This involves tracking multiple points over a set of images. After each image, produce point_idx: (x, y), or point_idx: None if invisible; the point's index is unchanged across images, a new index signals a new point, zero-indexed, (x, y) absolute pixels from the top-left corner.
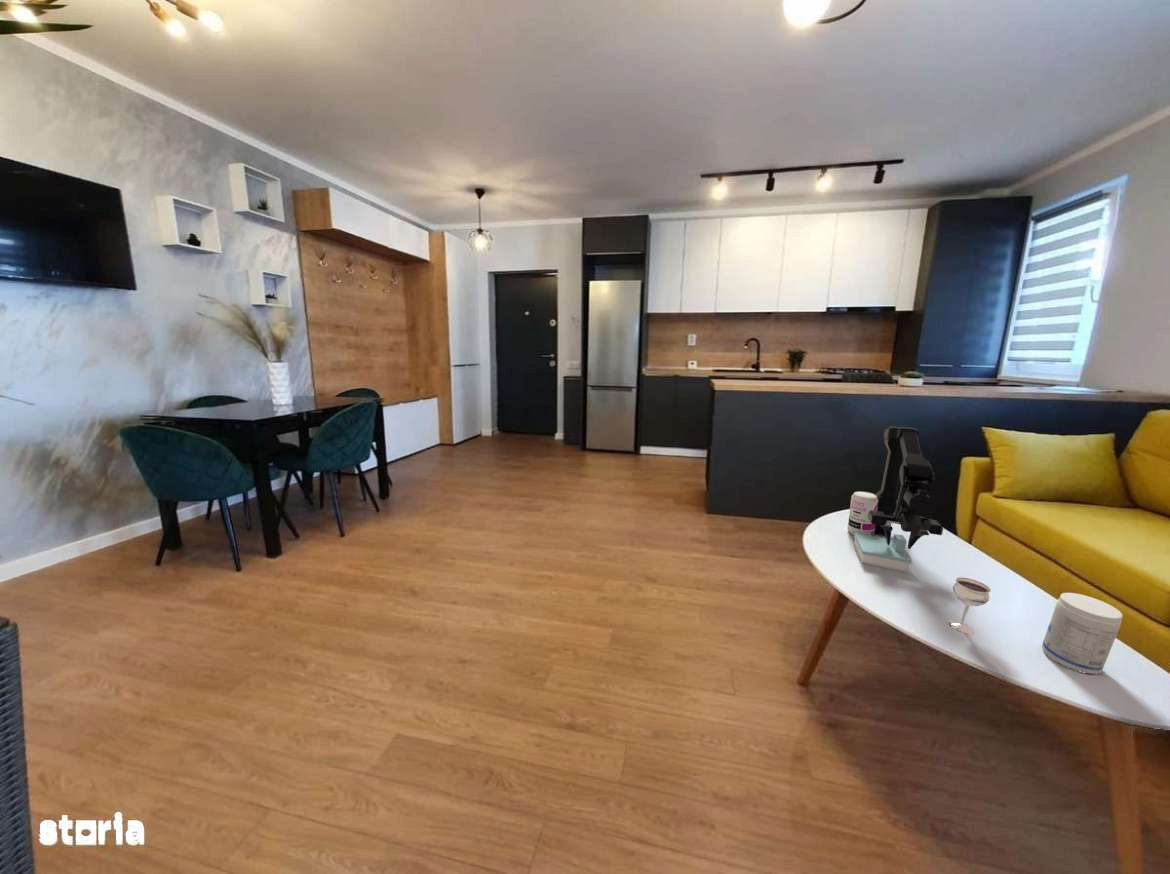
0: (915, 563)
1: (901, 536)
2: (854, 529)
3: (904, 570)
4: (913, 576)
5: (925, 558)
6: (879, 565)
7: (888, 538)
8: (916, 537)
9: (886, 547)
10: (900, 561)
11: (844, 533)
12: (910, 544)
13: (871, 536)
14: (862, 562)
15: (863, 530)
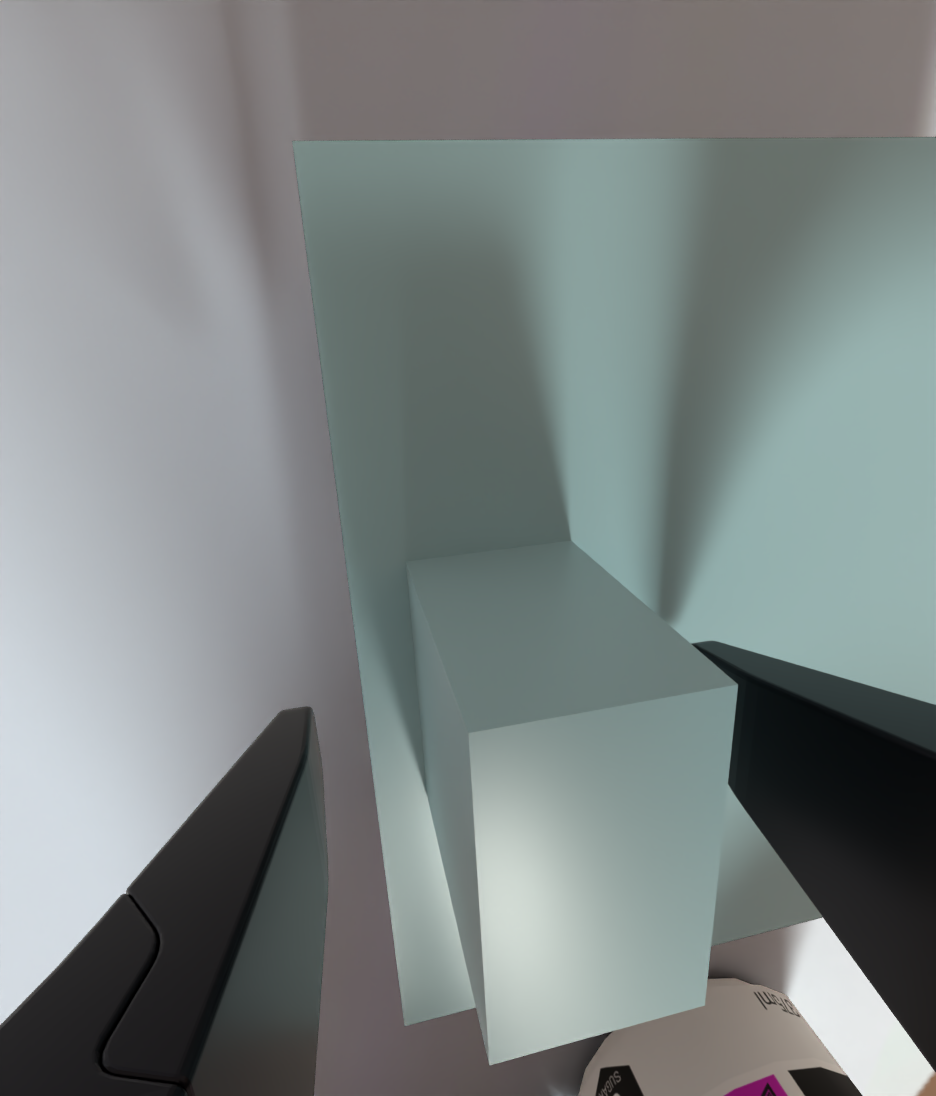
0: (159, 667)
1: (554, 967)
2: (814, 1048)
3: None
4: (237, 113)
5: (9, 911)
6: None
7: (872, 697)
8: (101, 1051)
9: (694, 604)
10: None
11: (821, 968)
12: (296, 765)
13: (793, 904)
14: None
15: (750, 1072)
